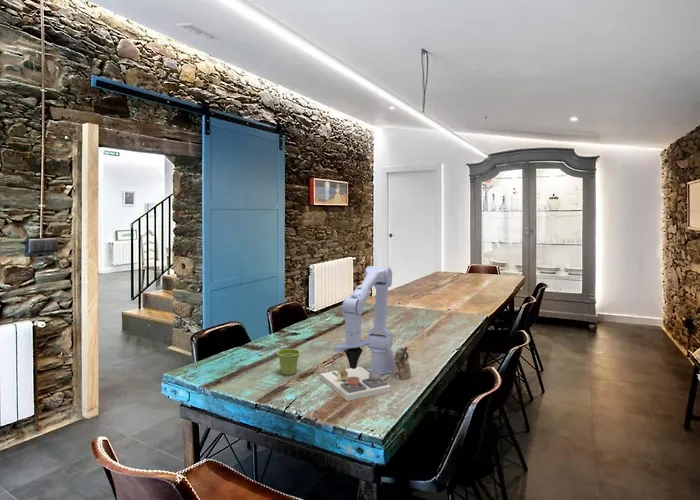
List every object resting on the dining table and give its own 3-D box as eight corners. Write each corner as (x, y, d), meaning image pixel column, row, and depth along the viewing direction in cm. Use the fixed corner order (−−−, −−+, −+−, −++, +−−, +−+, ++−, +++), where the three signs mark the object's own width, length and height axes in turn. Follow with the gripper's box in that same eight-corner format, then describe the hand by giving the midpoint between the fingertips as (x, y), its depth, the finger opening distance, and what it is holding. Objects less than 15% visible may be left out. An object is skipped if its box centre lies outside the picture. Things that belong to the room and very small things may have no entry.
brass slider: (344, 376, 168) (344, 364, 167) (347, 379, 165) (347, 366, 165) (337, 378, 166) (337, 365, 166) (340, 380, 164) (340, 367, 163)
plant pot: (301, 368, 184) (300, 348, 183) (299, 376, 175) (299, 355, 174) (279, 368, 184) (278, 348, 183) (275, 377, 174) (275, 355, 174)
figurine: (389, 374, 177) (389, 345, 176) (405, 372, 179) (405, 343, 178) (397, 380, 170) (397, 350, 169) (413, 378, 172) (414, 348, 171)
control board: (360, 371, 181) (360, 364, 180) (390, 391, 159) (390, 383, 159) (320, 378, 173) (320, 371, 172) (347, 401, 151) (347, 392, 151)
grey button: (376, 376, 165) (376, 371, 164) (382, 380, 161) (382, 375, 161) (366, 378, 163) (366, 373, 162) (372, 382, 159) (372, 377, 159)
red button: (355, 380, 161) (355, 375, 160) (361, 384, 157) (361, 379, 156) (345, 382, 159) (345, 377, 158) (350, 386, 155) (350, 381, 155)
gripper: (363, 326, 164) (363, 361, 165) (330, 331, 156) (330, 368, 157) (374, 330, 158) (374, 366, 159) (340, 336, 150) (340, 374, 151)
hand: (353, 368), depth 157 cm, fingers closed
